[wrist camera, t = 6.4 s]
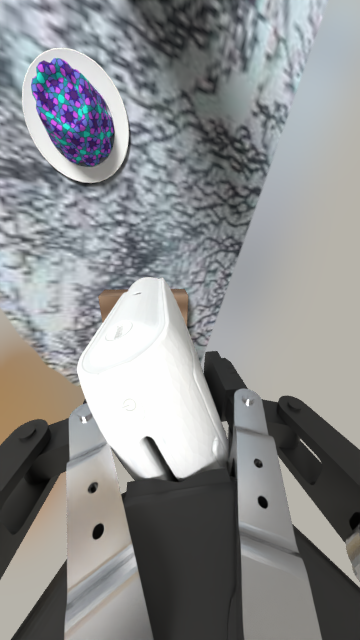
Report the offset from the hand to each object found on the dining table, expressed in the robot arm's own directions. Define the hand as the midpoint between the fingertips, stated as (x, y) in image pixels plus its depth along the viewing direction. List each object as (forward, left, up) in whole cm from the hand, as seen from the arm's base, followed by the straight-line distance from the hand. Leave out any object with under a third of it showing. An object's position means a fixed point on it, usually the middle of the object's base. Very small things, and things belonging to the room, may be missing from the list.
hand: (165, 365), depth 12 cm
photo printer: (0, 0, -6) cm, 6 cm away
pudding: (-20, -9, -23) cm, 32 cm away
